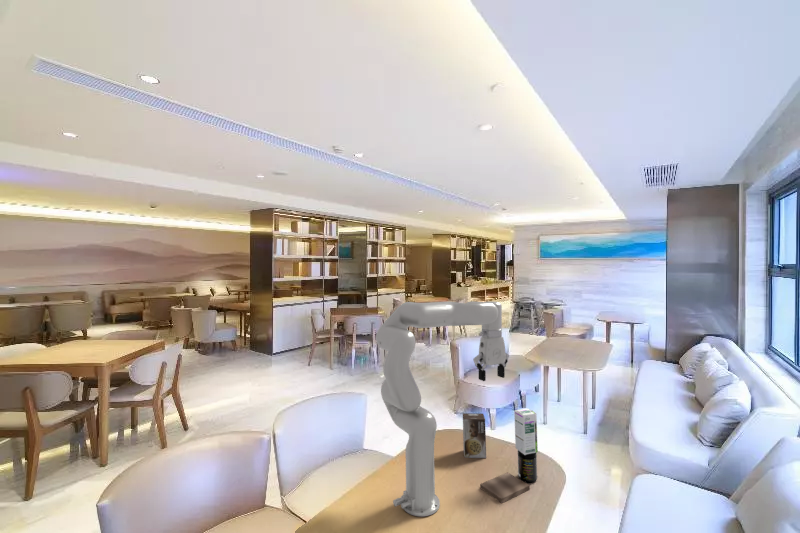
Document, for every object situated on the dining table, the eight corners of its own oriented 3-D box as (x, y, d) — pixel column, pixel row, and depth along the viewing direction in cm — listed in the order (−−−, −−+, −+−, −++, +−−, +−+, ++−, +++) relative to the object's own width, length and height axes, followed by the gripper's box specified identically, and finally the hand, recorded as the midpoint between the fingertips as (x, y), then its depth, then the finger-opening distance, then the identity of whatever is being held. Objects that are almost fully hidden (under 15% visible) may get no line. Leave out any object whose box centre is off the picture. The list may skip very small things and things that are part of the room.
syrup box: (524, 455, 131) (523, 415, 131) (514, 448, 136) (514, 409, 136) (537, 452, 132) (537, 413, 132) (527, 445, 138) (526, 407, 138)
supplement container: (540, 483, 131) (540, 454, 131) (523, 484, 130) (522, 455, 130) (531, 472, 138) (531, 445, 138) (514, 474, 137) (514, 446, 137)
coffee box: (484, 450, 155) (483, 413, 156) (486, 458, 149) (485, 419, 149) (463, 450, 156) (462, 412, 156) (464, 457, 150) (463, 418, 150)
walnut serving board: (501, 503, 120) (501, 498, 120) (480, 488, 128) (480, 483, 128) (529, 489, 127) (529, 485, 127) (507, 476, 136) (507, 472, 136)
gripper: (481, 336, 132) (481, 384, 131) (515, 333, 140) (515, 378, 140) (467, 333, 138) (467, 379, 138) (501, 331, 147) (501, 373, 146)
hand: (491, 378), depth 139 cm, fingers open, 9 cm apart
